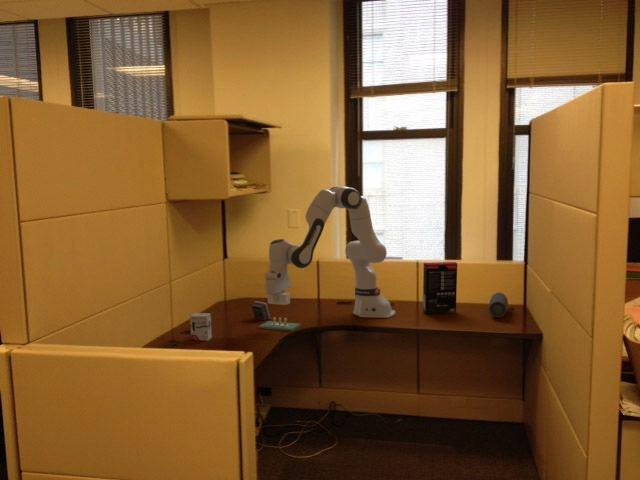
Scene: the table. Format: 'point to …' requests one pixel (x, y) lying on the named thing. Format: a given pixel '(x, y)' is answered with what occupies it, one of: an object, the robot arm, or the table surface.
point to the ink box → (200, 326)
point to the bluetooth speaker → (498, 305)
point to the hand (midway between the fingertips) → (278, 300)
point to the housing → (280, 299)
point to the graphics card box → (439, 287)
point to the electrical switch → (260, 310)
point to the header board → (280, 325)
